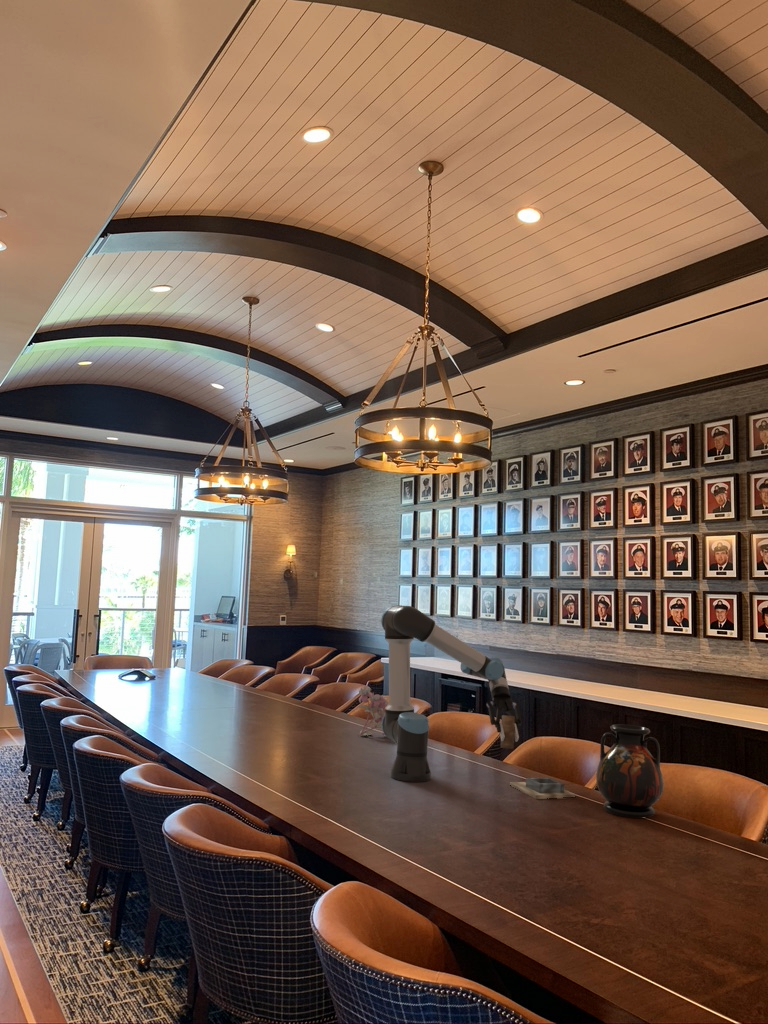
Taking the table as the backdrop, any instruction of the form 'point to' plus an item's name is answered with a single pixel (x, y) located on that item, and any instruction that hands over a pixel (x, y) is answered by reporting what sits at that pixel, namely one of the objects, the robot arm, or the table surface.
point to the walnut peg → (508, 731)
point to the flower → (372, 709)
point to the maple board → (542, 788)
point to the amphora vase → (629, 773)
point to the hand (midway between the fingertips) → (510, 739)
